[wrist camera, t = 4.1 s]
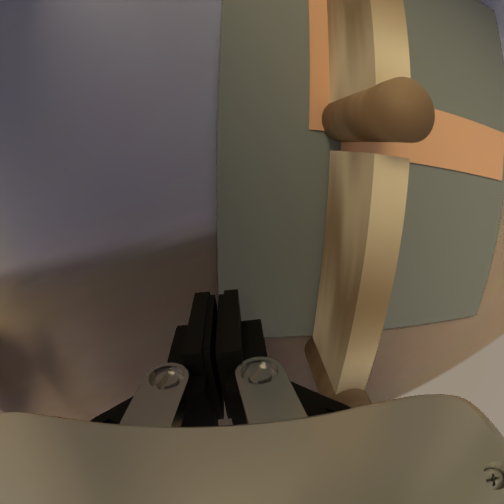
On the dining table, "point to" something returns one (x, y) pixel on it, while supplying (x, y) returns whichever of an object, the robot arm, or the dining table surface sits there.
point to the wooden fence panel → (373, 76)
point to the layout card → (320, 144)
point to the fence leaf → (356, 270)
